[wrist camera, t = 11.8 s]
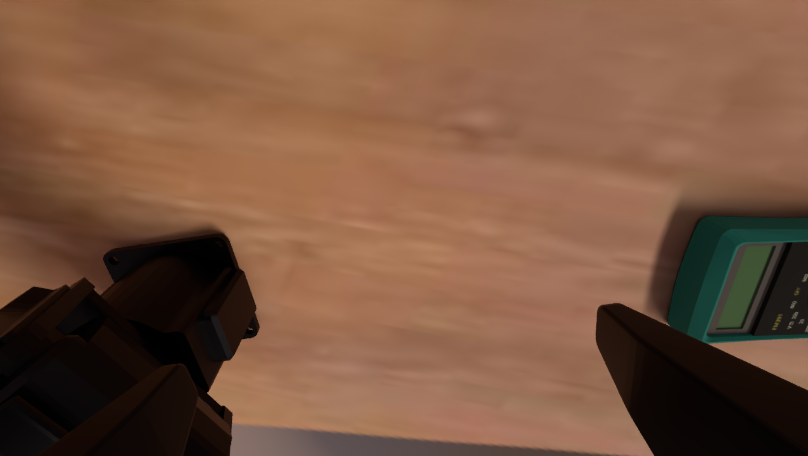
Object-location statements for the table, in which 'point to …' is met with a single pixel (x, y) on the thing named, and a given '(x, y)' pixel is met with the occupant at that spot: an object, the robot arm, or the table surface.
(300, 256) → the table surface
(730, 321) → the digital multimeter
